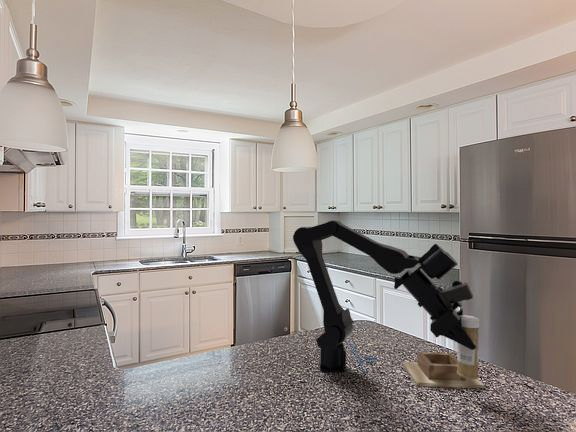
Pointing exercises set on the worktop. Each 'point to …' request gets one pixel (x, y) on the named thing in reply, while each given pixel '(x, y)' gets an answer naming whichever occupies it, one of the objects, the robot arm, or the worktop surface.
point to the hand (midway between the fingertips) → (474, 345)
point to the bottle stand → (438, 371)
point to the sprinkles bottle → (469, 350)
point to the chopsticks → (365, 358)
